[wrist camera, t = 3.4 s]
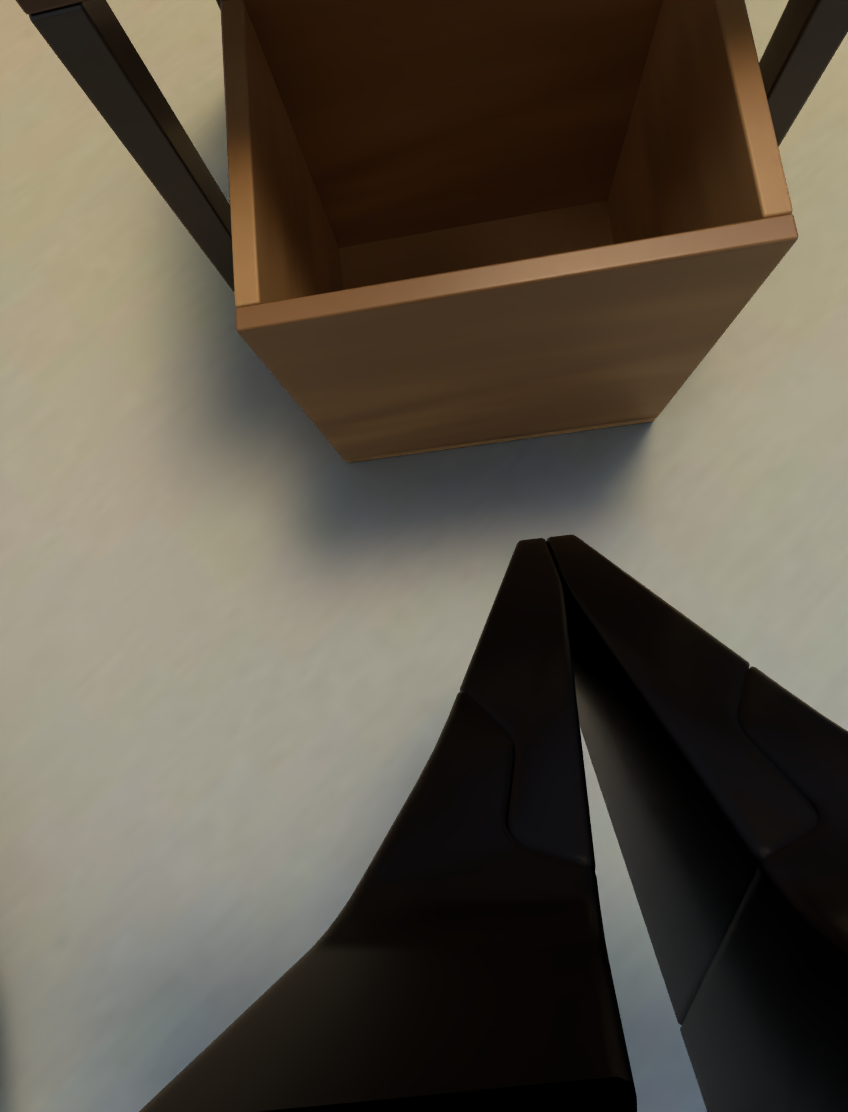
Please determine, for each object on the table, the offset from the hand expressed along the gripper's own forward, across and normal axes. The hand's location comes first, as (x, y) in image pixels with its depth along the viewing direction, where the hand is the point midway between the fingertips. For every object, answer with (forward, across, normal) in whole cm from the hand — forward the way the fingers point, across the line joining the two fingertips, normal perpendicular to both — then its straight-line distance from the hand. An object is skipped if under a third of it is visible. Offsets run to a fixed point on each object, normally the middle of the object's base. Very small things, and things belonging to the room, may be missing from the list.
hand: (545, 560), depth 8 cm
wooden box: (+12, 0, 0) cm, 12 cm away
